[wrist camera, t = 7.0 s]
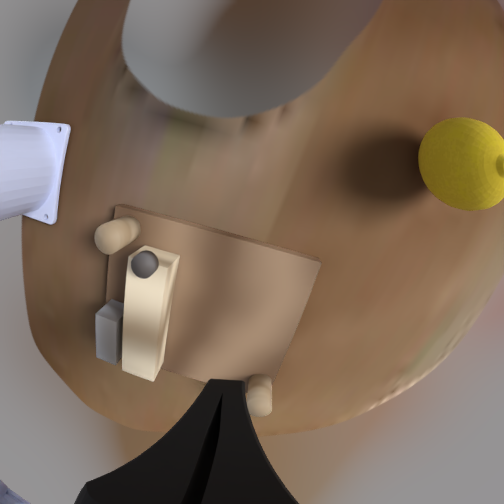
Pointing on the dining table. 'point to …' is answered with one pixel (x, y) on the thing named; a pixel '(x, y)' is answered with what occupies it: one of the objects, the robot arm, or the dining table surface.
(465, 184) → the lemon
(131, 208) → the board
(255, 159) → the dining table surface
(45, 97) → the dining table surface
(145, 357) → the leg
